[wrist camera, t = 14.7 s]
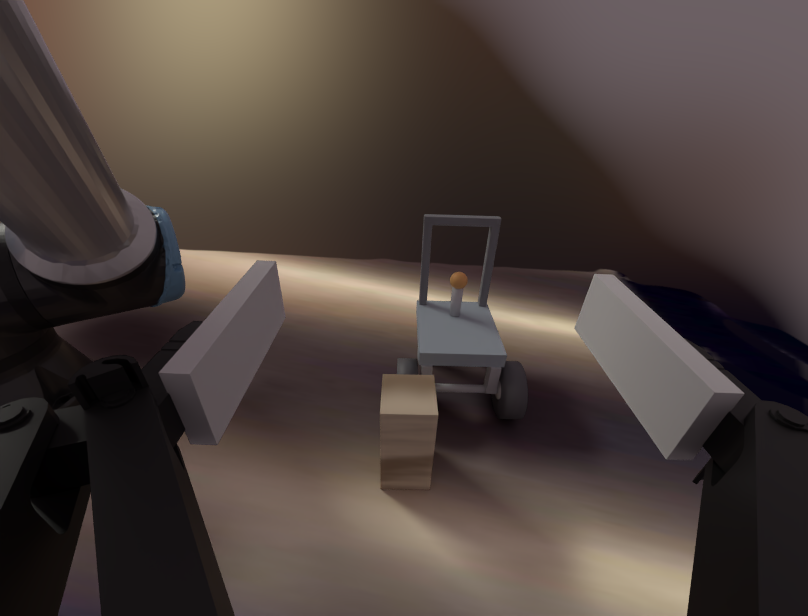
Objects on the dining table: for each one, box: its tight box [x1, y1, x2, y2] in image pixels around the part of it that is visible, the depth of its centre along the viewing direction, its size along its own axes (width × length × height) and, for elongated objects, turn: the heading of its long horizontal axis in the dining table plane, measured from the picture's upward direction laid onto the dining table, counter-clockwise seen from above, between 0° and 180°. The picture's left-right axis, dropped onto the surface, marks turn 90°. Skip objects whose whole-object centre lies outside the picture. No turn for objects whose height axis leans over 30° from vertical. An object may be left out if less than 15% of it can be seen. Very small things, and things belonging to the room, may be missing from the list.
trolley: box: [397, 214, 528, 419], centre depth 43 cm, size 15×15×22 cm
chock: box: [380, 374, 438, 490], centre depth 35 cm, size 5×5×11 cm
